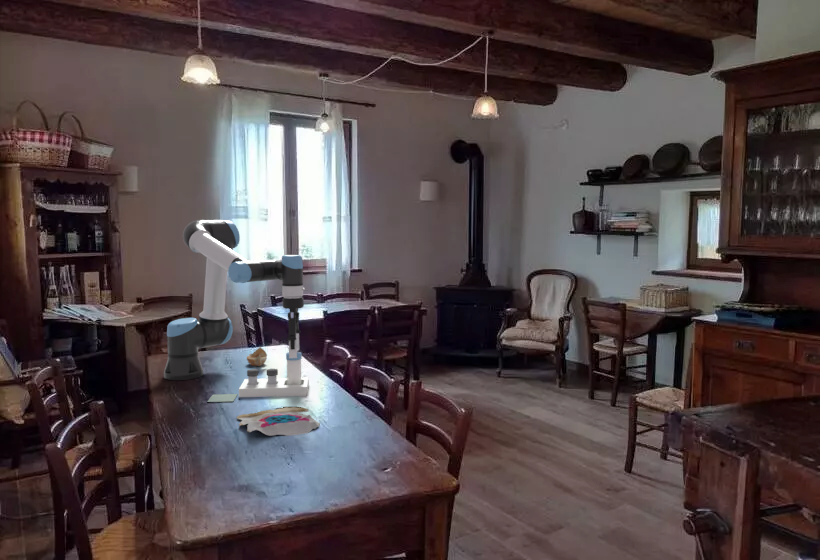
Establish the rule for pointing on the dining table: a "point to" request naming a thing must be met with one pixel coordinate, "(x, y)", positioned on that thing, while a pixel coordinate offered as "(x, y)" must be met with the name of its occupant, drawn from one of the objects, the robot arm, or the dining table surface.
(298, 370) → the cylinder
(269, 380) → the plunger
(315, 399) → the dining table surface
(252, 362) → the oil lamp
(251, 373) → the plunger
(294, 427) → the rumpled printed cloth
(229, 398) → the mat
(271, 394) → the white tube rack
